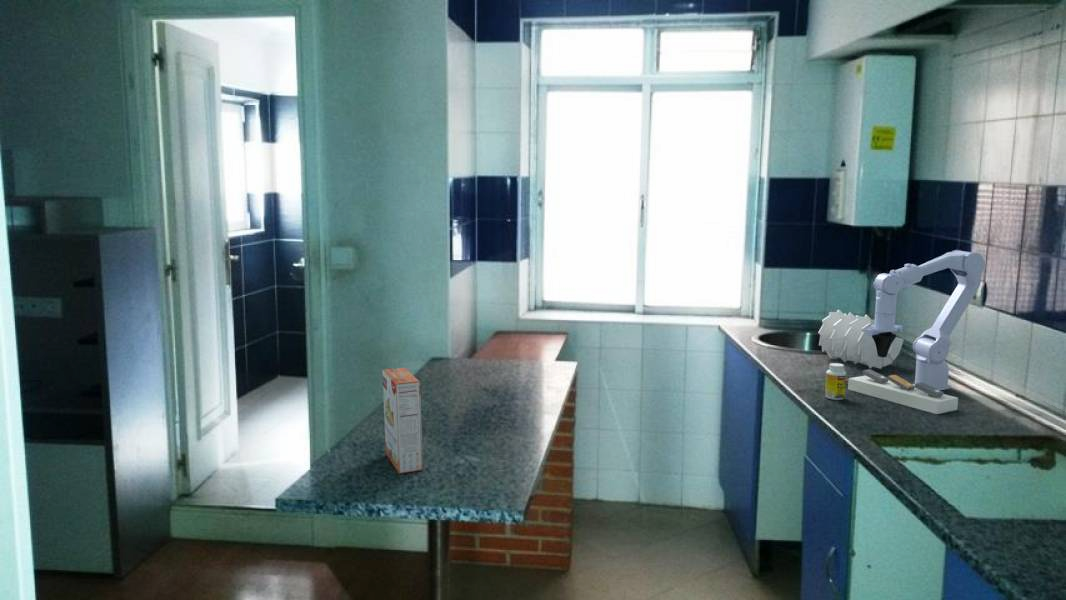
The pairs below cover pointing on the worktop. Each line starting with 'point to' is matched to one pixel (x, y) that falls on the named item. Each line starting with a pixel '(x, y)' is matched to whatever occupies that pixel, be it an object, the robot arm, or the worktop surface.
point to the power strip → (903, 395)
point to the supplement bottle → (835, 382)
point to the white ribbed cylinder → (854, 340)
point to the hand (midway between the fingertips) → (882, 356)
